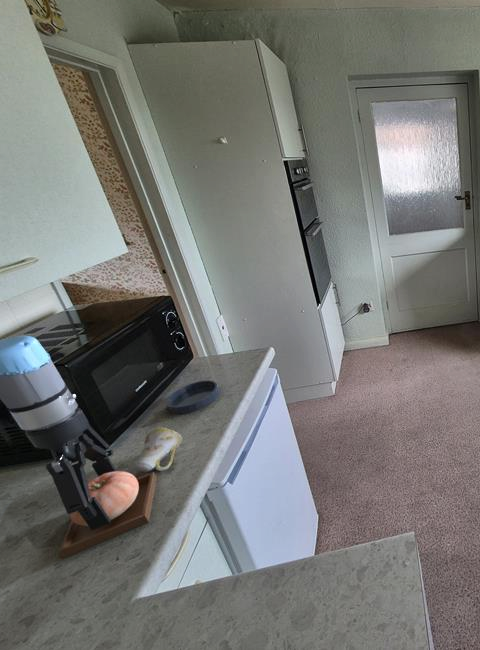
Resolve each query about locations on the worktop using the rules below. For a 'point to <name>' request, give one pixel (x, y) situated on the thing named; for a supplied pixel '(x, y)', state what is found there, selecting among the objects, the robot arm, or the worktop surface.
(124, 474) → the pumpkin
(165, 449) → the mug
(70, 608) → the worktop surface
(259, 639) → the worktop surface
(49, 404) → the robot arm
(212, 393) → the dark blue ring
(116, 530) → the tray
